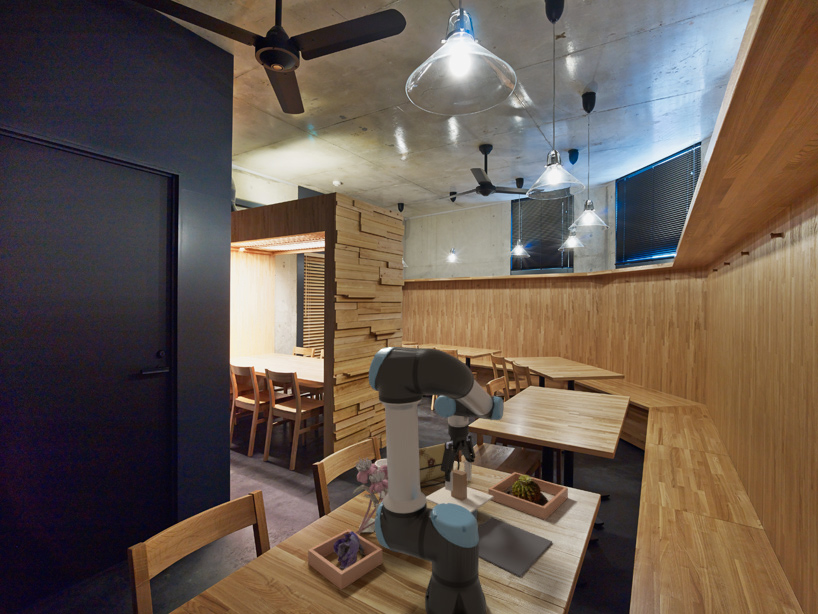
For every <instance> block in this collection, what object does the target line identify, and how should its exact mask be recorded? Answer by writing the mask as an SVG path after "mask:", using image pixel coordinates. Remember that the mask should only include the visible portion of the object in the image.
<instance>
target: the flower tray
mask: <svg viewBox="0 0 818 614" xmlns="http://www.w3.org/2000/svg"><path fill="white" fill-rule="evenodd" d="M351 531H352V530H351V529H349V528H348V529H345V530H343V531H342V532H340V533H338V534H336V535H333V536H332V537H330V538H327V540H324V541H323V542H320V543H318V544H317V545H314V546H313V547H311V548H309V549H307V564H308V565H309V566H310V567H312V568H313V569H314V570H315V571H316V572H318V573H319V574H321V575H322V576H323V577H324V578H325V579H326V580H328V581H330V582H331V583H332V584H334V586H336V587H337V588H338V589H340V590H343V589H345V588H347V587H348V586H349V585H351V584H353V583H354V582H355V581H357V580H359V579H360V578H361V577H364V576H365V575H366V574H367V573H370V572H371V571H373V570H374V569H375V568H377V567H379V566H380V565H382V564H383V548H381V547H380V546H378V545H376V544H375V543H373V542H372V541H370V540H368V539H366V538H364V537H363V536H361V535H359V534H356V533H355V532H354V533H355V534H356V535H357V536H358V537H359V540H360V544H361V545H362V546H363V549H364V554H363V556H365V557H362V558H361V559H359V560H358V561H356V563H354V564H353V565H351V566H349V567H348V568H346V569H345V570H344V569H341V568H340V567H337V566H336V565H335V564H333V563H332V562H330V561H329V560H328V559H326V558H325V557H327V556H329V555H331V554H333V553H335V552H334V547H333V545H334V543H335V542H336V541H337V540H338V539H342V538H345V536H344V534H349V532H351ZM349 536H350V535H349ZM349 538H350V537H349ZM358 552H360V550H359V549H358Z"/></svg>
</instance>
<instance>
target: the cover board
mask: <svg viewBox="0 0 818 614" xmlns="http://www.w3.org/2000/svg"><path fill="white" fill-rule="evenodd" d="M451 472H453V491H449V490H446V489H445V486H444V487H441V488H439V489H438V490H436V491H434V492H432V493H431V494H429V495H426V500H427V502H430V503H432V504H435V506H436V505H438V504H442V503H445V504H447V503H452V504H457V505H460V506H462V507H464V508H466V509H468V510H469V511H470V512H471V513H472V512H473V511H475V510H476V509H477V510H478V509H480V508H481V507H482V506H484V505H485V504H487V503H489V502H490V501H492V500H491V499H492V498H493V496H492V495H489V494H488V493H486V492H483V491H481V490H477V489H474V488H473V487H468V480H467V473H466V472H464V470H463V471H462V470H460V469H459V470H457V468H455V469H453V471H451Z"/></svg>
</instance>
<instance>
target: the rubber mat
mask: <svg viewBox="0 0 818 614" xmlns="http://www.w3.org/2000/svg"><path fill="white" fill-rule="evenodd" d="M478 534H479V542H478V558H480V559H482V560H484V561H485V562H488V563H490V564H492V565H493V566H496V567H498V568H500V569H502V570H503V571H506V572H508V573H510V574H513V575H514V576H516V577H518V578H522V576H523V575H525V573H527V571H528V570H529V569H530V568H531V567H532V566H533V564H534V563H536V561H537V560H538V559H539V558H540V557H541V556H542V554H543V553H544V552H545V551H546V550H547V549H548V548H549V547H550V546H551V545H552V544H553V540H550V539H548V538H545V537H542V536H540V535H538V534H536V533H533V532H530V531H528V530H525V529H523V528H520V527H517V526H515V525H513V524H510V523H507V522H505V521H502V520H500V519H498V518H495V517H493V516H491V517H489V518H488V519H487V520H486V521H484V522H483V523H481V524H480V525H479V526H478Z"/></svg>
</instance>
